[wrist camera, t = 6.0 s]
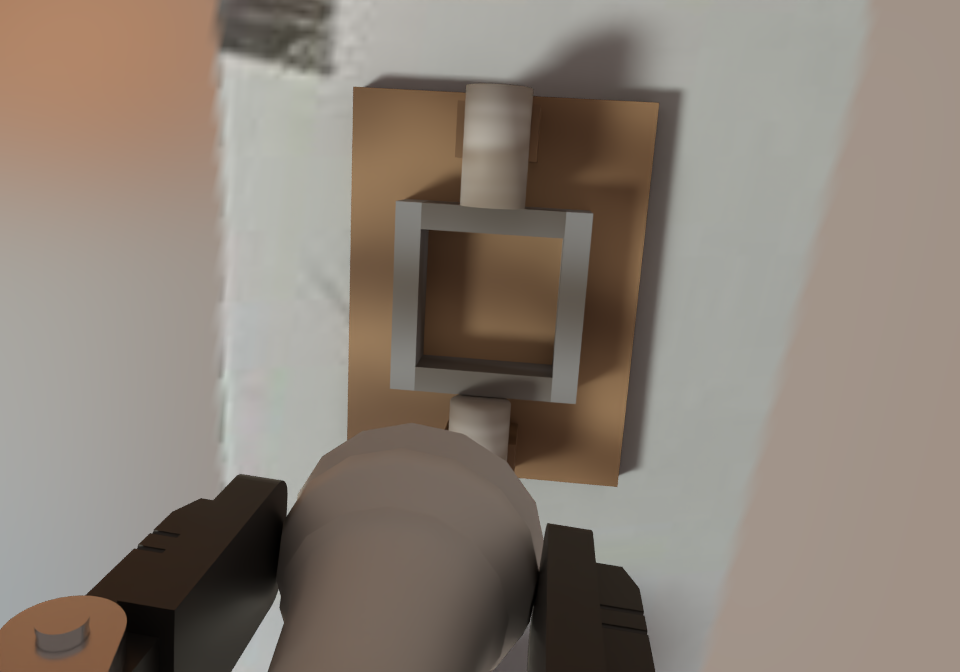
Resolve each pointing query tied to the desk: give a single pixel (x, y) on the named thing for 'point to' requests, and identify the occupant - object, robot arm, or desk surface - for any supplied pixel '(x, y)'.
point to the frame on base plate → (499, 270)
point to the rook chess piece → (407, 557)
